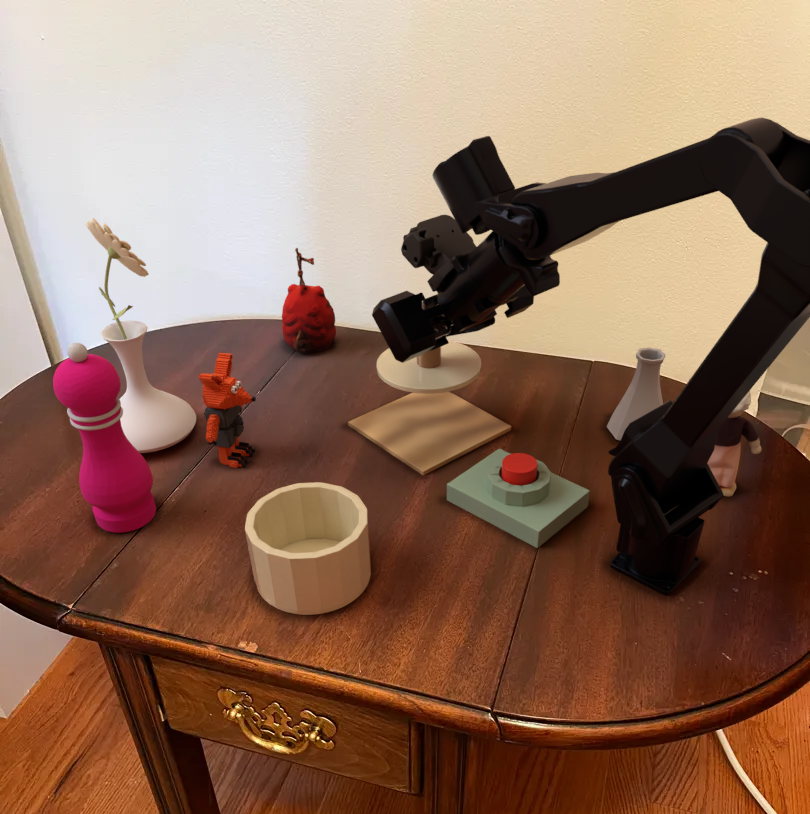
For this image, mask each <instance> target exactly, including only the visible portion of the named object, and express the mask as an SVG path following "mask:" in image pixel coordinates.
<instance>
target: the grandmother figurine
mask: <svg viewBox="0 0 810 814" xmlns="http://www.w3.org/2000/svg"><path fill="white" fill-rule="evenodd" d="M751 394H752V393H751V390H750V391H749V392H748V393H747V394H746V396H745V397H744V398H743V399H742V400H741V402H740V403H739V404H738V405H737V407H736V408H735V409H734V410H733V411H732V413H731V414H730V415H729V416H728V418H727V419H726V420H725V421H724V422H723V424H722V425H721V426H720V427H719V429H718V431H717V433H716V438H715V448H714V451H713V453H712V455H711V457H710V459H709V461H708V463H707V464H708V465H709V467H710V469H711V471H712V473H713V475H714V477H715V479H716V480H717V482H718V484H719V486H720V488H721V490H722V492H723V495H724V496H723V497H732V496H733V495H734V494H735V491H736V490H737V483H736V479H737V474H738V471H739V464H740V459H741V450H742V442H741V440H742V437H744V438H745V439H746V441H747V442H748V445H749V447H750V452H751V454H753V455H759V454H761V452H762V449H763V448H762V446H761V441H760V435H759V432H758V431H757V429H756V427H755V425H754V424H753V423H752V422H751V421H750V420H749V419H748V418H746V417H743V416H741V415H742V414H744V412H745V411H747V410H749V408H750V405H751V403H752V395H751Z"/></svg>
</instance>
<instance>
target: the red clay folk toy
mask: <svg viewBox="0 0 810 814" xmlns="http://www.w3.org/2000/svg"><path fill="white" fill-rule="evenodd" d="M294 252H295V254H296V261H297V267H298V270H297V277H298V278H299V284H295V283H291V284H290V285H288V288H287V295H286V297H285V298H284V302H283V305H282V313H281V330H282V331H281V333H282V337H283V339H284V341H285V343H286V344H287V345H288V346H289V347H290V348H291V349H292V350H293V351H296V352H298V353H302V354H308V353H317V352H320V351H324V350H326V349H327V348H330V347H331V346H332V344H333V343H334V342H335V339H336V336H337V328H336V315H335V311H334V308H333V307H332V305H331V303H330V301H329V300H328V298H327V297H326V293H325V290H324V288H323V287H321V285H309V284H306V282H305V280H304V271H303V267H302V264H303V263H302V262H306V263H308V264H310V265H312V266H314V265H315V261H314V260H315V258H314V257H310V258H306V257H303V254H302V253H301V252H299V247H296V248H295V249H294Z"/></svg>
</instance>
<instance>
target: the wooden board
mask: <svg viewBox="0 0 810 814" xmlns="http://www.w3.org/2000/svg"><path fill="white" fill-rule="evenodd" d="M347 425H348V427H350V428H351V429H352V430H354V431H356V432H357V433H358V434H360V435H362V436H363V437H365V438H366V439H368V440H369V441H371V442H372V443H374V444H375V445H377V446H378V447H380V448H381V449H383V450H384V451H385V452H387V453H388V454H390V455H392V456H393V457H395V458H396V459H398V460H399V461H401V462H402V463H404V464H405V465H406V466H408V467H410V468H411V469H413V470H414V471H416V472H417V473H419V474H420V475H421V476H425V475H428V474H430V473H431V472H433V471H435V470H437V469H439V468H440V467H443V466H444V465H447V464H448V463H450V462H453V461H454V460H456V459H458V458H461V457H462V456H464V455H466V454H467V453H470V452H471V451H473V450H476V449H477V448H479V447H482V446H483V445H485V444H487V443H489V442H491V441H493V440H495V439H496V438H498V437H500V436H503V435H504V434H507V433H508V432H511V431H512V425H510V424H508V423H506V422H505V421H503V420H501V419H499V418H497V417H495V416H494V415H492V414H491V413H489V412H487V411H485V410H483V409H481V407H480V408H479V407H478V406H476V405H474V404H472V403H470V402H469V401H468V400H465V399H463V398H461V397H460V396H458V395H457V394H454V393H453V392H452V391H449V392H443V393H434V394H422V393H412V392H410V393H409V394H407V395H404V396H401V397H400V398H398V399H396V400H393V401H391V402H389V403H386V404H385V405H382V406H380V407H377V408H376V409H372V410H371V411H369V412H366V413H365V414H362V415H360V416H358V417H356V418H355V417H354V418H353V419H351V420H349V421H348V422H347Z"/></svg>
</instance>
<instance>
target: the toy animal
mask: <svg viewBox="0 0 810 814" xmlns="http://www.w3.org/2000/svg"><path fill="white" fill-rule="evenodd" d="M233 358H234V356H233V354H232V353H227V352H218V355H217V358H216V359H215V366H214V370H213V373H208V372H204V373H201V374H200V373H199V374H198V379H199V380H200V382H201V384H202V400H203V404H204V405H205V406H206V408H205V409H204V412H203V414H204V418H205V423H206V424H207V425H206V432H205V440H206V442H207V444H208V445H212V446H213V447H217V449H218V459H219V463H220V464H221V465H227V466H229V467H230V468H234V469H237V468H239V467H240V468H245V467H246V466H247V464H249V459H248V458H246V457H253V456H254V454H255V453H256V448H253V446H252V445H250V443H249V442H246V441H240V437H241V435H242V434H243V432H244V431H245V430H244V429H245V425H244V424H245V423H244V420H243V417H242V416H241V415H240V414H242V411H243V406H244V405H248V404H249V403H250V404H252V403H253V402H254V403H255V402H256V401H257V397H256V396H251V393H249V392H248V391H247V390H245V388H244V387H243V386H242V381H241V380H239V379H238V378H236V377H233V376H231V374H232V368H233Z"/></svg>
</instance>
